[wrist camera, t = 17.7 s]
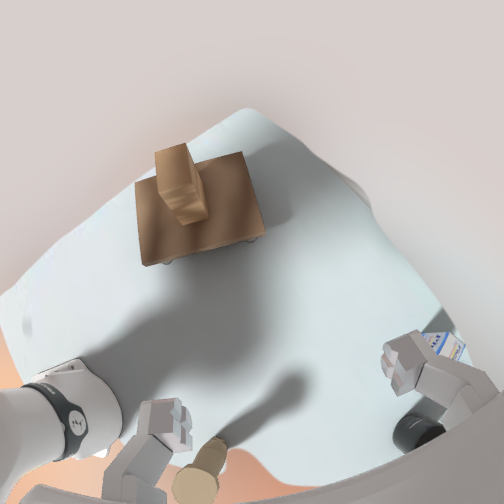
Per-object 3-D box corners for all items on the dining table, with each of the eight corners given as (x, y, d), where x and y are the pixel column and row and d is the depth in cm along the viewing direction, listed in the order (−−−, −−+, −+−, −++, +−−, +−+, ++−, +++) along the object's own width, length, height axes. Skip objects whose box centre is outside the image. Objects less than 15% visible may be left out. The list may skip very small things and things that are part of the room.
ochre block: (182, 225, 40) (158, 192, 30) (177, 190, 41) (154, 152, 32) (209, 218, 40) (192, 182, 30) (202, 183, 41) (185, 142, 32)
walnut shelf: (157, 273, 44) (142, 264, 38) (148, 199, 48) (134, 182, 42) (266, 245, 44) (265, 231, 39) (244, 171, 48) (241, 151, 43)
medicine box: (420, 332, 39) (449, 329, 30) (437, 345, 38) (467, 344, 29) (396, 373, 37) (422, 380, 29) (413, 386, 36) (441, 394, 28)
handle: (197, 455, 35) (167, 500, 21) (208, 423, 37) (178, 461, 22) (227, 465, 34) (208, 514, 20) (238, 433, 36) (223, 476, 22)
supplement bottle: (408, 406, 35) (446, 422, 24) (432, 421, 34) (471, 437, 22) (383, 440, 34) (415, 467, 22) (408, 453, 32) (442, 478, 21)
